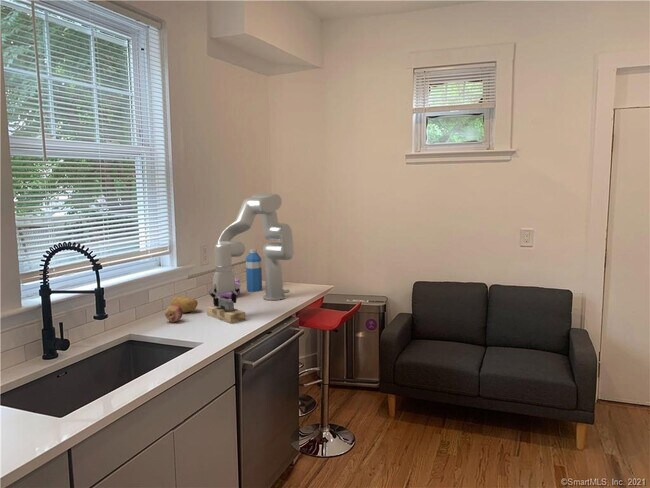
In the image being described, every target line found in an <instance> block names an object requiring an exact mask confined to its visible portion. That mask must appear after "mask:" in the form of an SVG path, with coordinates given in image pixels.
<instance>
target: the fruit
mask: <svg viewBox="0 0 650 488" xmlns="http://www.w3.org/2000/svg"><path fill="white" fill-rule="evenodd" d="M164 316H165V318H166V319H167V320H168V321H169V322H171V323H177V322H179V320H181V318H182V317H183V313H182V309H181V307H180V306H178V305H172V304H170V305H169V306H168V307H167V308H166V309H165V312H164Z"/></svg>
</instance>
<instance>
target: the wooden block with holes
mask: <svg viewBox="0 0 650 488" xmlns="http://www.w3.org/2000/svg"><path fill="white" fill-rule="evenodd" d="M206 315H207V316H208V317H211V318H214V319H217V320H220V321H223V322H226V323H228V324H235V323H239V322H243V321H246V311H243V310H241V309H237V308H234V311H232V312H225V309H221V310H219V309H218V307H217V306H214V305H211V306H210V305H209V306H207V307H206Z"/></svg>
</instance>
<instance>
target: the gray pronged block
mask: <svg viewBox="0 0 650 488" xmlns="http://www.w3.org/2000/svg"><path fill="white" fill-rule="evenodd" d="M218 302H219V306H218V309H219V310H221V309H225V312H232V311H234V309H235V307H234V305H235V303H234V301H232V299H229V298H228V299H227V298H226V297H224V298H221V297H218Z"/></svg>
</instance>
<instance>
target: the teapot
mask: <svg viewBox="0 0 650 488" xmlns="http://www.w3.org/2000/svg"><path fill="white" fill-rule="evenodd" d="M234 278H235V283H237V284H240V285H241V283H240V282H241V279H238V277H234ZM236 287H237V286H235V289H236ZM239 294H241V288H240V289H239V291H238V293H237V295H236V298H238V295H239ZM231 295H232V292H228V293H222V294H219V295H218V297H220V298H228V300H232V299H231Z"/></svg>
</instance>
